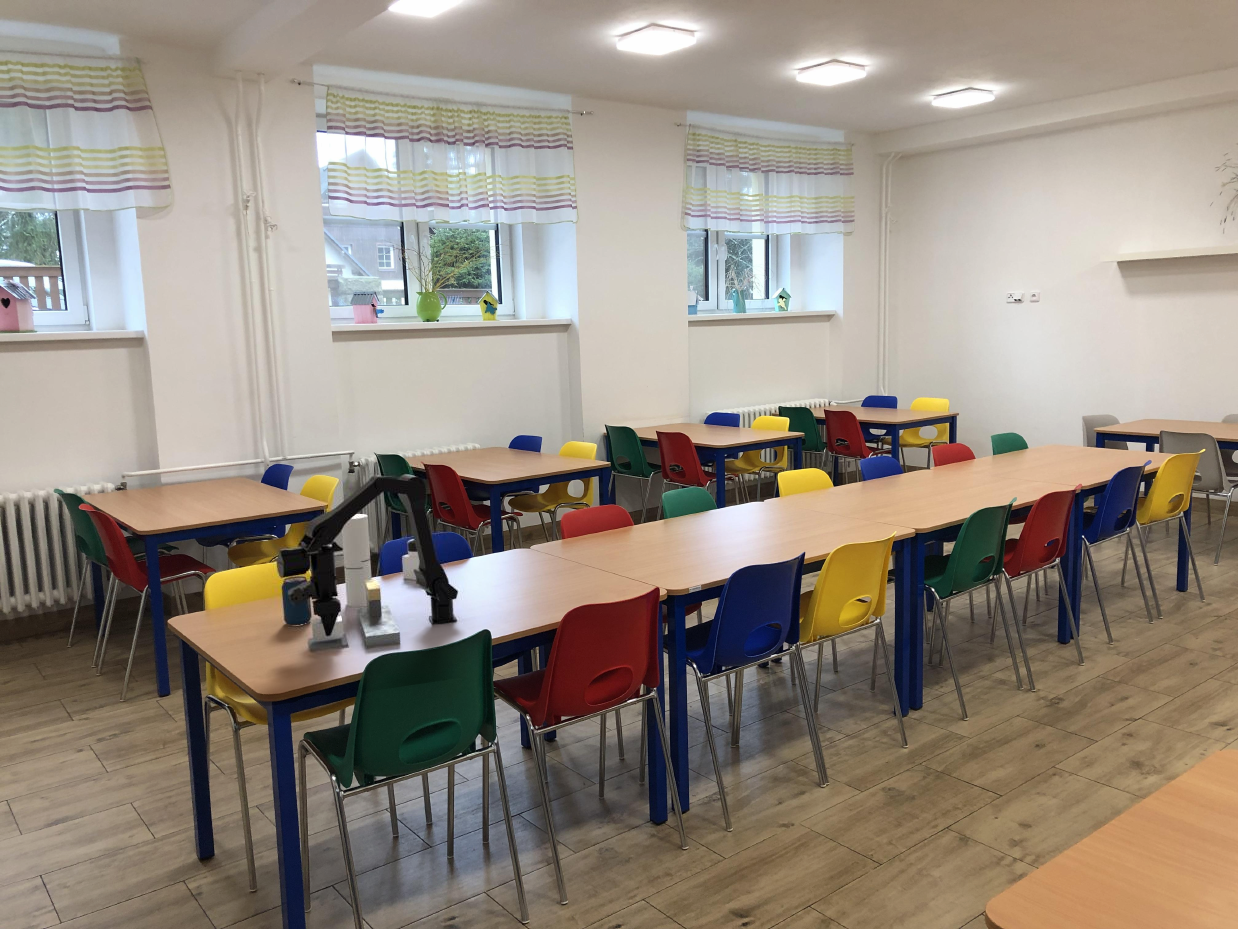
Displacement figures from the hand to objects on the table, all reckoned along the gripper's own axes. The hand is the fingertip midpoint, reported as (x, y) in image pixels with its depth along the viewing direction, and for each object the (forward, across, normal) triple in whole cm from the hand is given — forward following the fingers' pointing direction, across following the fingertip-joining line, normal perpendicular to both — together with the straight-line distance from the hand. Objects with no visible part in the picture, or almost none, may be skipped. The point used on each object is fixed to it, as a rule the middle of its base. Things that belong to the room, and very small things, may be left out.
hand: (327, 632), depth 235 cm
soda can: (+3, -22, -7) cm, 23 cm away
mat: (+3, 0, 0) cm, 3 cm away
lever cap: (+1, 0, 0) cm, 1 cm away
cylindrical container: (+3, -35, +10) cm, 37 cm away
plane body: (+3, -5, +12) cm, 14 cm away
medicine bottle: (+3, -58, +30) cm, 66 cm away
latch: (-5, -14, +12) cm, 19 cm away
